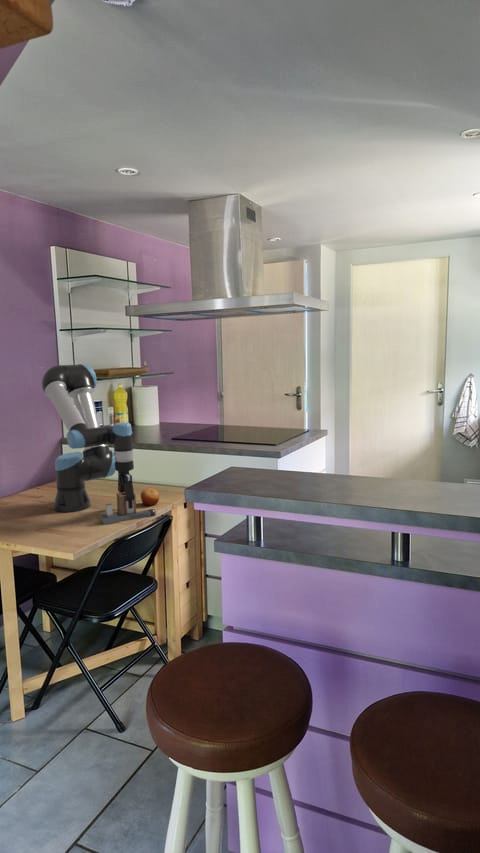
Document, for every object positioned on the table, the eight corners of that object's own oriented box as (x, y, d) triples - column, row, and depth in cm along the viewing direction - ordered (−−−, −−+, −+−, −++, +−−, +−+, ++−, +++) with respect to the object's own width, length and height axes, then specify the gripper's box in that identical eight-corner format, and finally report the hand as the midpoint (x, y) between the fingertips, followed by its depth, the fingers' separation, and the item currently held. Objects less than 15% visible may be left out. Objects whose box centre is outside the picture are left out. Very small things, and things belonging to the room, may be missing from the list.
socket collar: (117, 511, 226) (116, 493, 225) (132, 509, 229) (131, 491, 228) (121, 515, 221) (119, 496, 219) (136, 513, 223) (135, 494, 222)
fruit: (149, 496, 243) (154, 483, 239) (159, 508, 239) (164, 495, 235) (134, 500, 237) (139, 486, 233) (143, 512, 233) (148, 498, 229)
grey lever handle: (100, 521, 214) (99, 504, 213) (153, 512, 223) (152, 496, 222) (103, 524, 209) (102, 507, 208) (157, 516, 218) (156, 499, 217)
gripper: (108, 456, 231) (111, 506, 234) (121, 466, 210) (124, 521, 213) (126, 454, 234) (128, 503, 237) (140, 464, 213) (143, 518, 216)
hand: (126, 512), depth 225 cm, fingers open, 11 cm apart
